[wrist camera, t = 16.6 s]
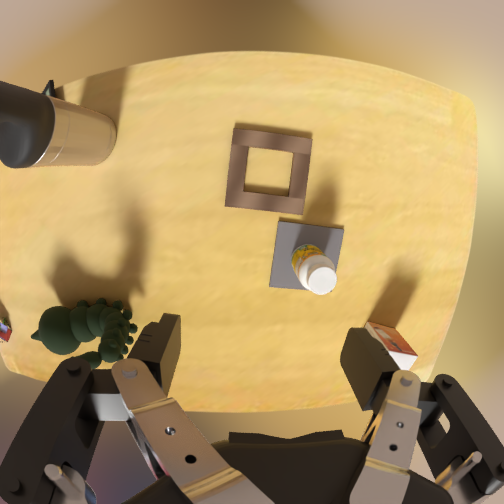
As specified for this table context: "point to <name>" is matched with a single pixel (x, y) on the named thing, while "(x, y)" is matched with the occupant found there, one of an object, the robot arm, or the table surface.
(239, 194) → the walnut dock
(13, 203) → the table surface
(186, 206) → the table surface
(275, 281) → the charcoal mat
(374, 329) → the small box
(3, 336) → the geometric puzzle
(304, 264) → the supplement bottle
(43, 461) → the robot arm
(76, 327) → the toy figurine
